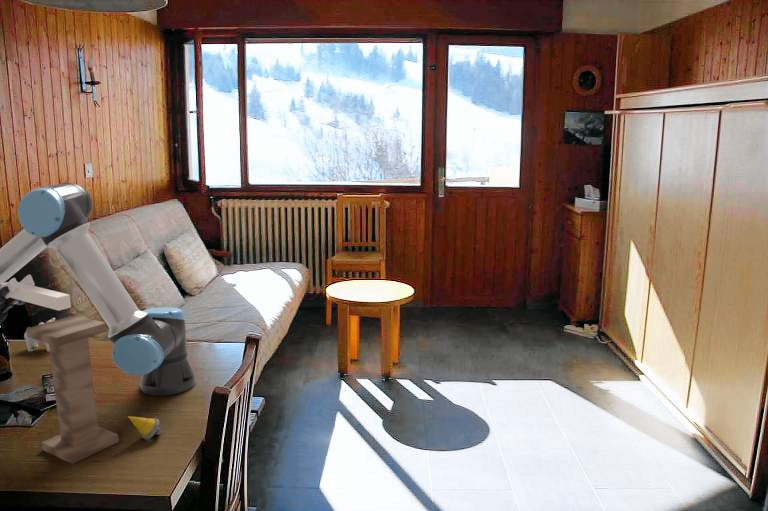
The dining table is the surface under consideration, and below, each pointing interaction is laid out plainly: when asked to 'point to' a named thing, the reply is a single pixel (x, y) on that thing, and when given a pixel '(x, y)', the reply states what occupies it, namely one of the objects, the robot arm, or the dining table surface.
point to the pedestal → (73, 388)
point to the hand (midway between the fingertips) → (23, 281)
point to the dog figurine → (30, 340)
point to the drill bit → (146, 426)
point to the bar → (41, 296)
